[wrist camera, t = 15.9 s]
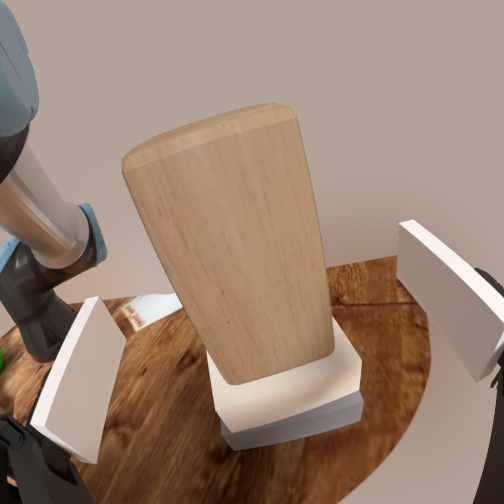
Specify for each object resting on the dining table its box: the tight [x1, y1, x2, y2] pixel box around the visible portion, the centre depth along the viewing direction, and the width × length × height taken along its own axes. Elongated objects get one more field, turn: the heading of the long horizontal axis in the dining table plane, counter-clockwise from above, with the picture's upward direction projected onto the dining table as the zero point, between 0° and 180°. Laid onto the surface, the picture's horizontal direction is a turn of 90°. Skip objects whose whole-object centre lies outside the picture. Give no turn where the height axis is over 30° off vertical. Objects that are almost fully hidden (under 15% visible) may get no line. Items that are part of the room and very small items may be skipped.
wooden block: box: [122, 103, 335, 385], centre depth 22 cm, size 10×10×20 cm
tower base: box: [220, 390, 364, 451], centre depth 31 cm, size 14×14×5 cm
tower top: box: [206, 316, 362, 433], centre depth 29 cm, size 13×13×5 cm
